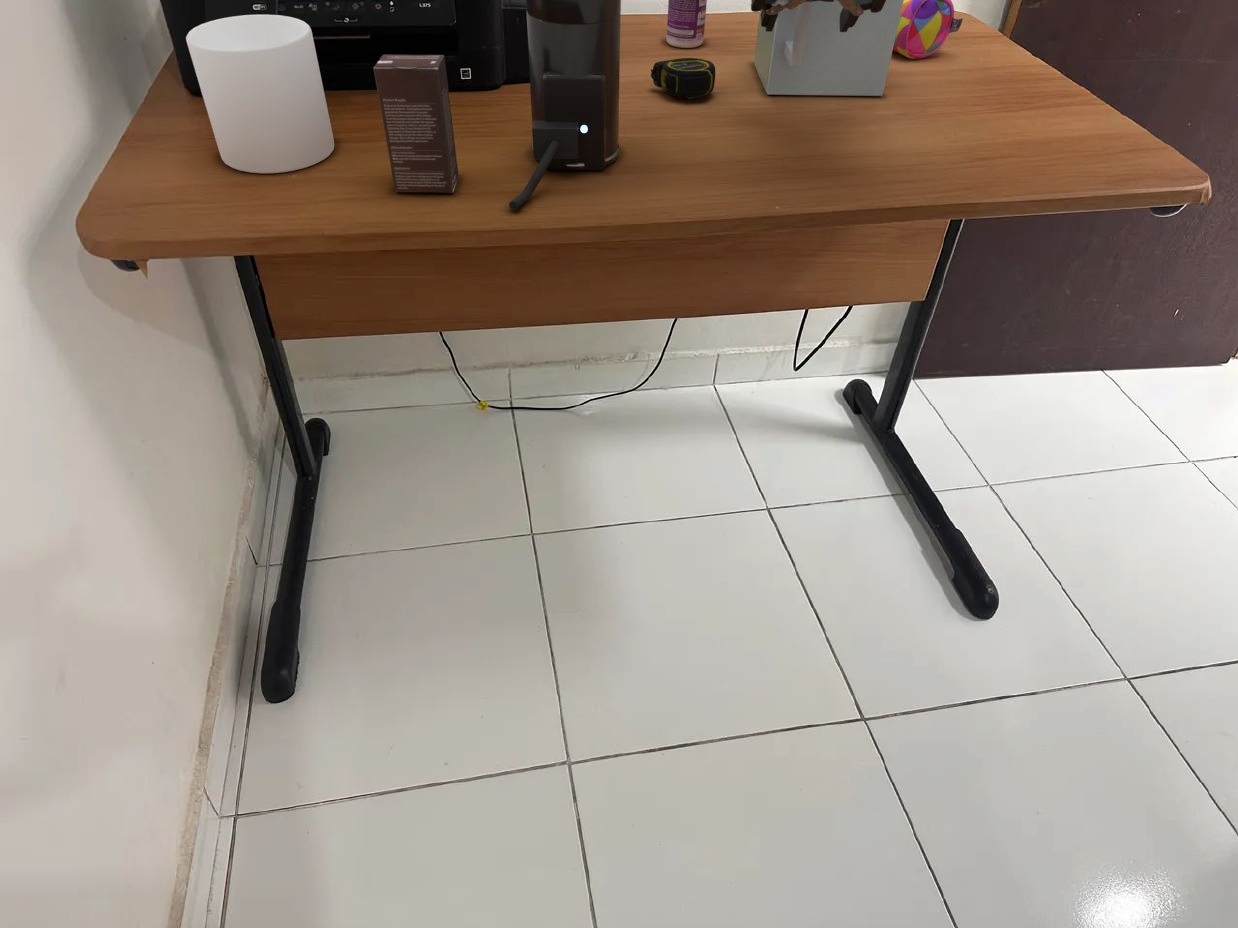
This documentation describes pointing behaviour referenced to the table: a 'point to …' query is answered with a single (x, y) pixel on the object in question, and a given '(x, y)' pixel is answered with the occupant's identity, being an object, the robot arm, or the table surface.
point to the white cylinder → (262, 92)
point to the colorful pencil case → (924, 27)
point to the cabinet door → (832, 51)
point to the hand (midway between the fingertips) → (805, 24)
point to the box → (417, 122)
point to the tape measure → (684, 77)
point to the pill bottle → (686, 23)
